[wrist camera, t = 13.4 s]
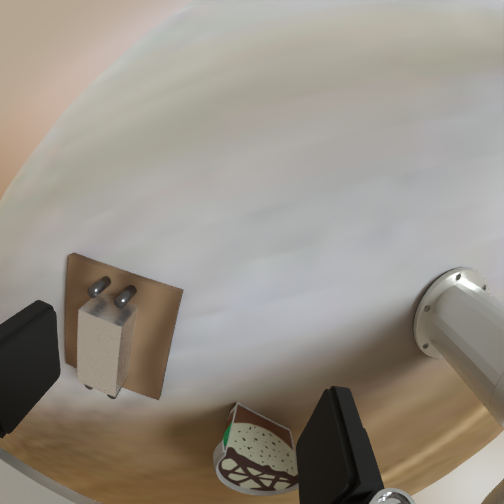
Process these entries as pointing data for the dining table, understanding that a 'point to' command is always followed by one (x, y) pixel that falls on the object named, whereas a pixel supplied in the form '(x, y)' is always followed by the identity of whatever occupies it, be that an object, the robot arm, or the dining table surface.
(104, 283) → the tray pins
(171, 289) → the tray
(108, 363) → the light grey block
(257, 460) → the food container
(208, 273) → the dining table surface
